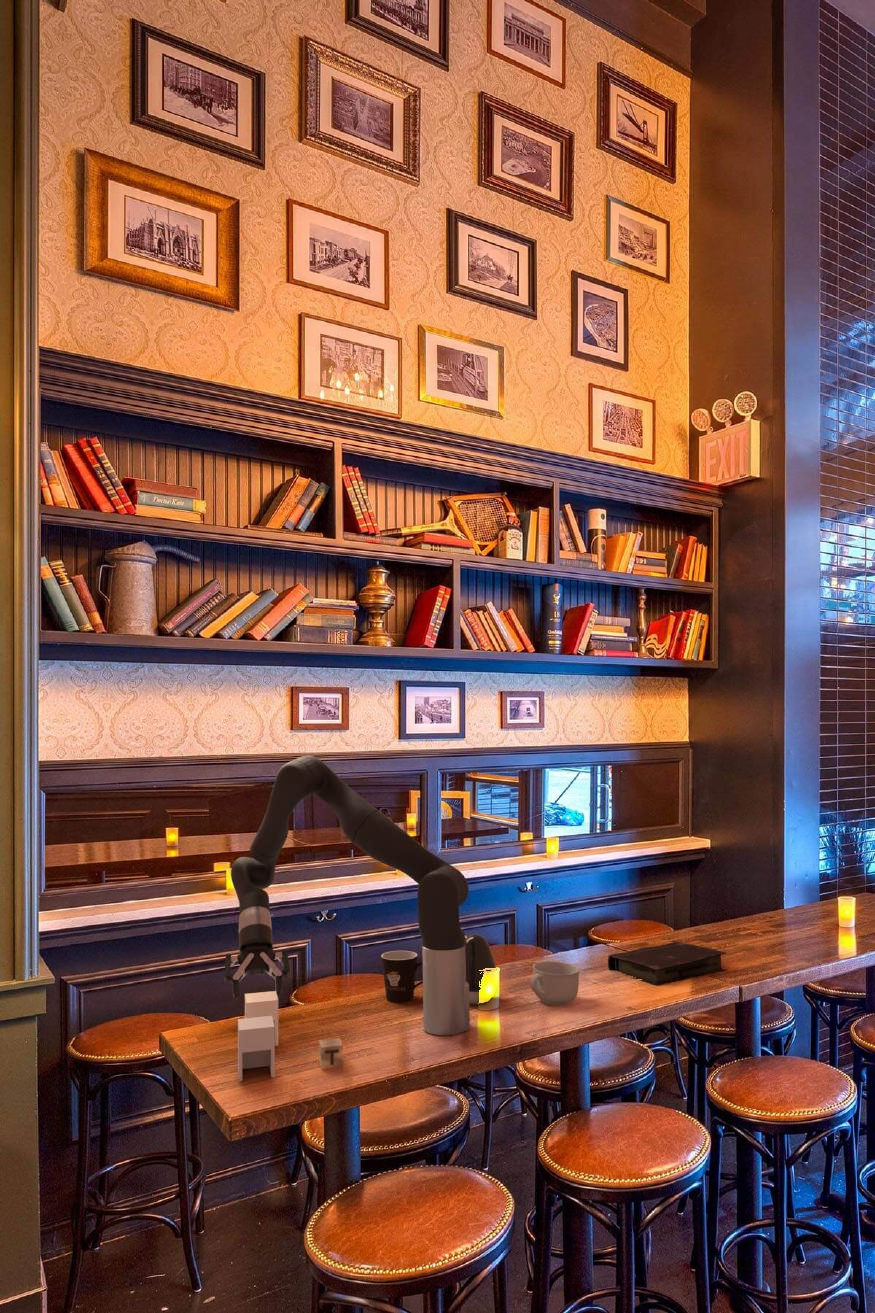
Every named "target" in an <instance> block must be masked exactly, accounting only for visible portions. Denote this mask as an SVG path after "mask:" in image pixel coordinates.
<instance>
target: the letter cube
mask: <svg viewBox="0 0 875 1313" xmlns="http://www.w3.org/2000/svg"><path fill="white" fill-rule="evenodd" d="M343 1052H344V1051H343V1043H342V1040H341V1038H327V1039H320V1040H318V1062H319V1065H320V1069H321V1070H326V1068H328V1069H336V1068H337V1069H338V1068H343V1066H344V1065H343V1062H344V1061H343V1060H344V1058H343Z"/></svg>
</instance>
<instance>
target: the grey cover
mask: <svg viewBox="0 0 875 1313" xmlns="http://www.w3.org/2000/svg"><path fill="white" fill-rule="evenodd" d="M275 1048H276V1046H275V1026H274V1022H273V1017H272V1016H264V1017H255V1018H245V1017H244V1018H238V1019H237V1076H238V1082H243V1070H245V1069H246V1070H247V1069H255V1068H262V1067H269V1072H270V1078H275V1071H276V1070H275V1069H276V1068H275V1065H276V1064H275V1062H276V1061H275V1056H276V1055H275V1054H276V1052H275Z"/></svg>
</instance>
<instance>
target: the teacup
mask: <svg viewBox="0 0 875 1313" xmlns="http://www.w3.org/2000/svg"><path fill="white" fill-rule="evenodd" d="M579 980H580V968H579V967H578V966H576V965H574V964H572V963H569V962H564V961H556V960H545V961H538V962H536V963H534V964H533V965H532V976H531V978H530V984H529V985H530V989H531V990H532V991H533V993H534V994H535V996H536V997H537V998H538V999H539V1000H540V1001H541V1002H542V1003H543V1004H546V1005H550V1006H558V1007H559V1006H560V1007H561V1006H567V1005H569V1004H570V1003H571V1002H573V1001H574V1000H575V999H576V998H577V997H578V992H579Z"/></svg>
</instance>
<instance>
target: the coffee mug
mask: <svg viewBox="0 0 875 1313" xmlns="http://www.w3.org/2000/svg"><path fill="white" fill-rule="evenodd" d="M380 957H381V965H382V972H383V974H382V975H383V981H384V990H385V996H386V997H385V998H386V1001H388V1002H389V1001H390V1003H394V1004H399V1003H400V1004H401V1003H407V1002H408V1001H409V1002H411V1001H413V1000H414V996H415V989H416V988H417V987H420V985H423V979H422V980H421V981H420V982H418V983H416V975H417V970H418V968H419V967H420V966H423V961H421V962H418V953H417V952H414V951H409V950H391V951H386V952H384V953H382V954H381V956H380ZM417 962H418V963H417ZM409 1002H408V1003H409Z"/></svg>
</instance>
